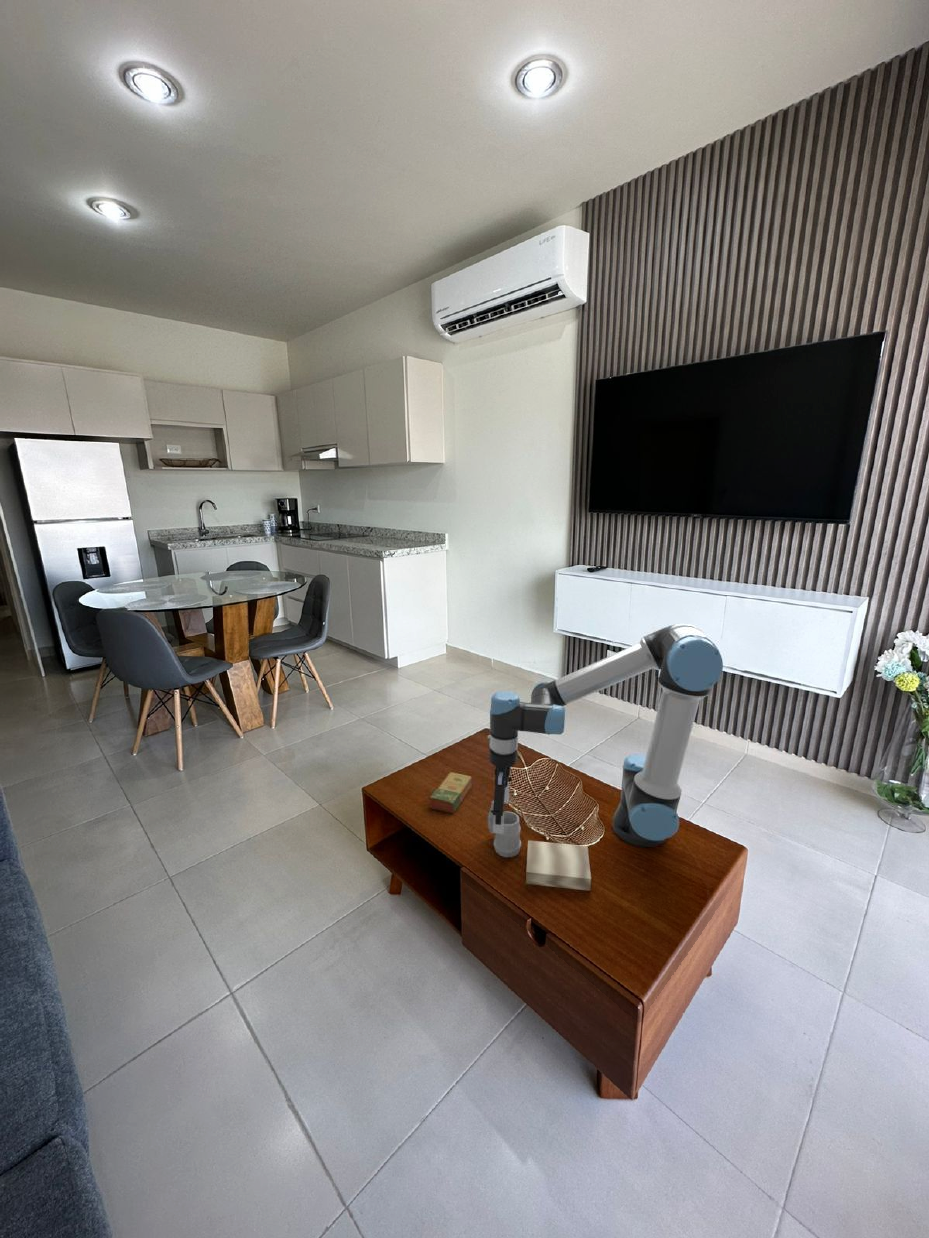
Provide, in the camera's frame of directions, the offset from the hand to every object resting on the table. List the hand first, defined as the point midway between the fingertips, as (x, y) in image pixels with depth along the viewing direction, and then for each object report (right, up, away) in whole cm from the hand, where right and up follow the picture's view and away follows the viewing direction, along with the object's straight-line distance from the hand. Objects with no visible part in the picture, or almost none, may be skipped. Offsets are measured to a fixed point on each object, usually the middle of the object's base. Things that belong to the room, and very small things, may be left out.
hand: (501, 816), depth 142 cm
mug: (0, -9, +2) cm, 9 cm away
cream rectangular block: (+14, -12, -8) cm, 20 cm away
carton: (-14, -4, +25) cm, 29 cm away
